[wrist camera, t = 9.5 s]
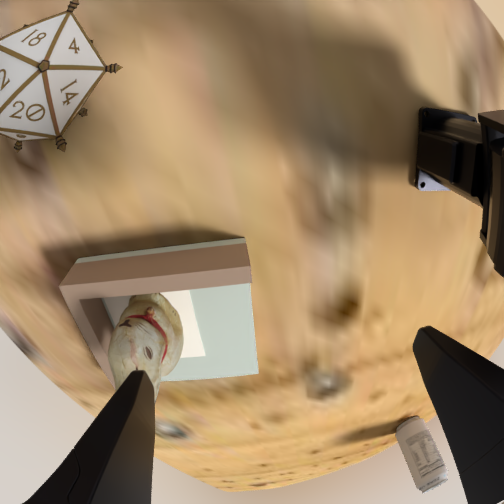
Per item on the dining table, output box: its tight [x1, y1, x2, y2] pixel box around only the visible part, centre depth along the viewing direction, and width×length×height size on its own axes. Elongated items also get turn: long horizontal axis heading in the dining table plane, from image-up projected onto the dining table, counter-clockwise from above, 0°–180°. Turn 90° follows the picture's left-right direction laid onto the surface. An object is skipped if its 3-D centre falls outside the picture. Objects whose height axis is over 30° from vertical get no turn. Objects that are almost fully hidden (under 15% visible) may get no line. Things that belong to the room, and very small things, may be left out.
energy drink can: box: [395, 417, 448, 493], centre depth 35 cm, size 6×6×15 cm
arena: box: [59, 238, 259, 389], centre depth 22 cm, size 13×14×4 cm
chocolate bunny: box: [108, 293, 184, 402], centre depth 18 cm, size 6×8×10 cm
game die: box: [0, 0, 123, 152], centre depth 10 cm, size 9×8×10 cm
